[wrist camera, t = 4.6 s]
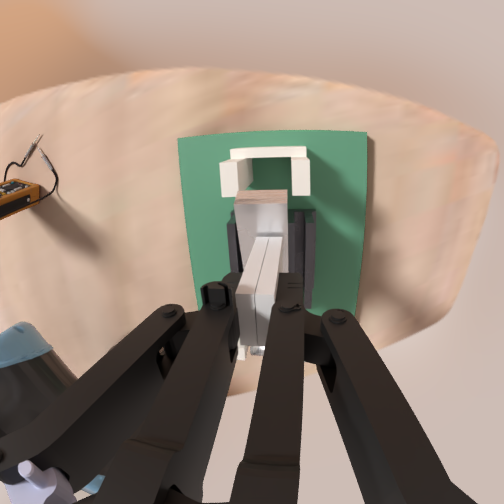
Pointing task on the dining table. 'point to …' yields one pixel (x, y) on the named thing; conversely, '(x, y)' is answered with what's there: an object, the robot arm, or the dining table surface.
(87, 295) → the dining table surface
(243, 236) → the clamp bar
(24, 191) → the multimeter
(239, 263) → the heat sink
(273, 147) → the circuit board
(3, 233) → the dining table surface
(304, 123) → the dining table surface
